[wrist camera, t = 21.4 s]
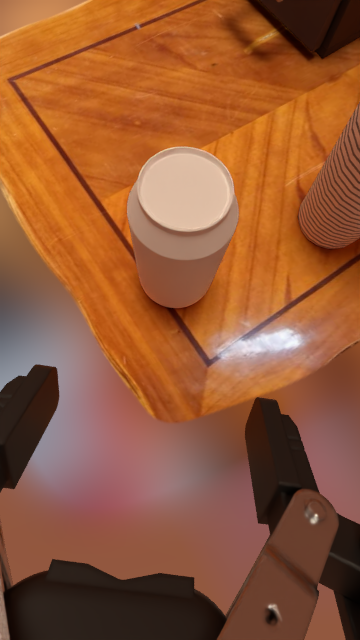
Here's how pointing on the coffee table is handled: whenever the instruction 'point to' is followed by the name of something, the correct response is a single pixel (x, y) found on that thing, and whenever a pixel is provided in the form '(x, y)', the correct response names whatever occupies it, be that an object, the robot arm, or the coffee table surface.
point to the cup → (336, 193)
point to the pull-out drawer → (305, 18)
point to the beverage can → (181, 223)
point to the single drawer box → (342, 28)
